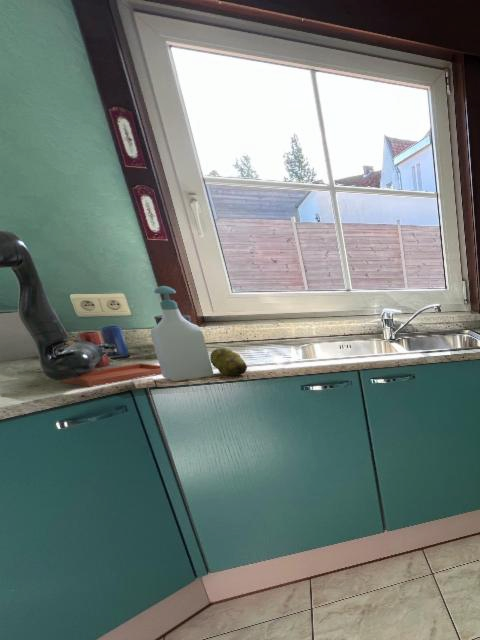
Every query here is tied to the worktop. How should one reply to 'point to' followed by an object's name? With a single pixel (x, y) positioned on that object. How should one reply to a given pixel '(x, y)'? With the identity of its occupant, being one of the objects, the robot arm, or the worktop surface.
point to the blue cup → (115, 340)
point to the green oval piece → (228, 362)
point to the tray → (115, 374)
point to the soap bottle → (179, 343)
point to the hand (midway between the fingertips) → (94, 346)
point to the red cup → (95, 339)
